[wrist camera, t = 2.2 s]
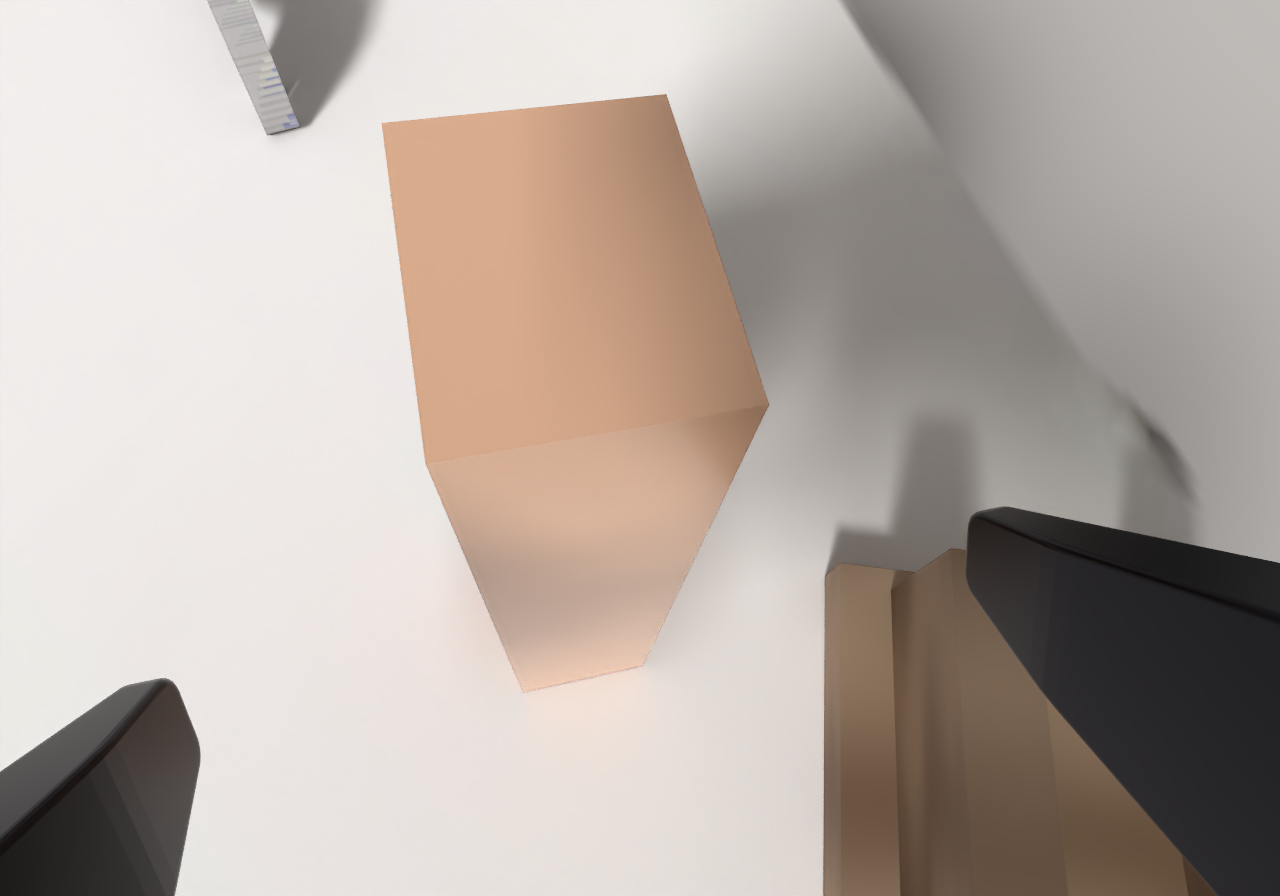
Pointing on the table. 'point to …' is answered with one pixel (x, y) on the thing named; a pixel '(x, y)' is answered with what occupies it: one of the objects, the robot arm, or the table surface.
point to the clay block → (570, 367)
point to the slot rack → (963, 759)
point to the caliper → (254, 63)
